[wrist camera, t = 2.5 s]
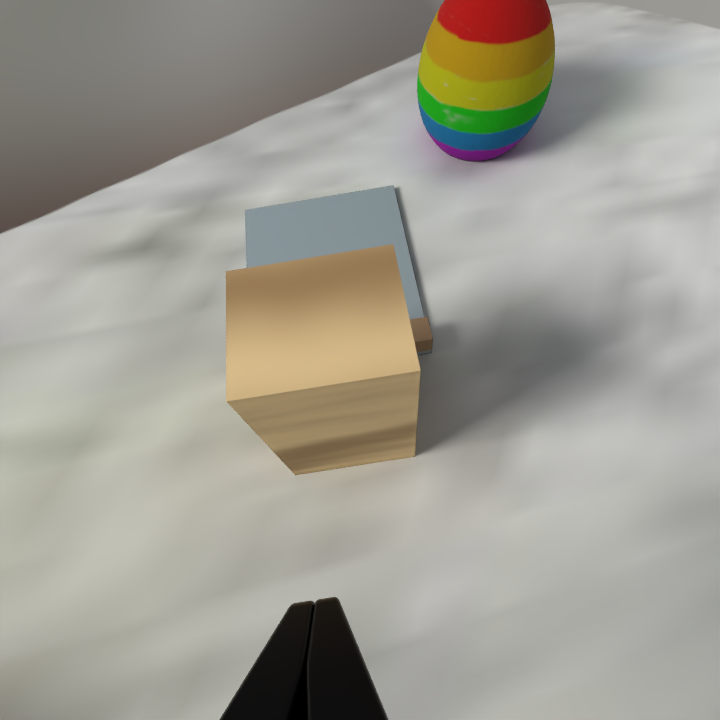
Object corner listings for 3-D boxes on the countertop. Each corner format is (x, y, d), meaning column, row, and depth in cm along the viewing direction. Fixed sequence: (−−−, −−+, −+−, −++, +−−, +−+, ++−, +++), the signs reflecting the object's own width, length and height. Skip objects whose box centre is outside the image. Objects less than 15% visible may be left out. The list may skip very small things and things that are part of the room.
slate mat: (431, 352, 26) (432, 339, 24) (251, 381, 26) (243, 369, 24) (393, 188, 31) (393, 170, 30) (246, 213, 31) (239, 196, 30)
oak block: (414, 456, 23) (420, 370, 14) (295, 475, 23) (226, 401, 14) (397, 366, 25) (393, 244, 16) (288, 384, 25) (226, 271, 17)
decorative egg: (464, 195, 30) (489, 30, 22) (393, 128, 34) (389, -37, 25) (560, 140, 32) (620, -35, 23) (483, 82, 35) (509, -90, 26)
